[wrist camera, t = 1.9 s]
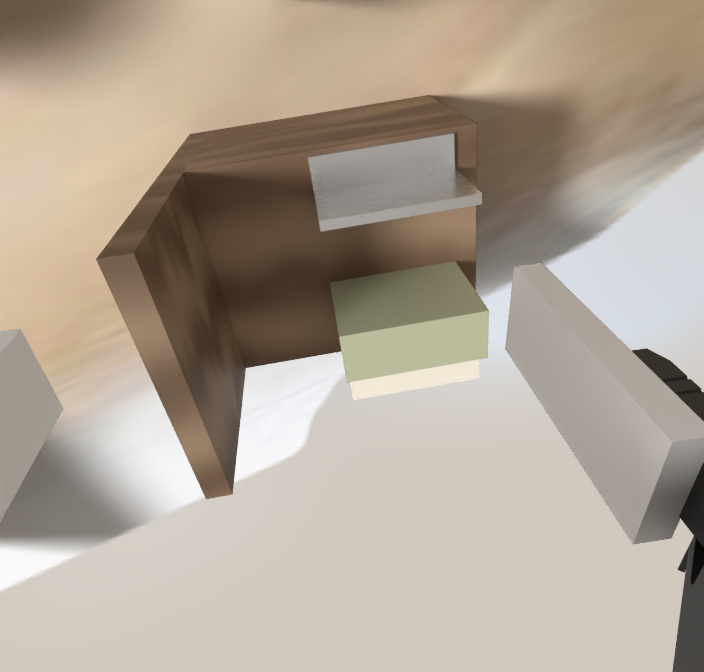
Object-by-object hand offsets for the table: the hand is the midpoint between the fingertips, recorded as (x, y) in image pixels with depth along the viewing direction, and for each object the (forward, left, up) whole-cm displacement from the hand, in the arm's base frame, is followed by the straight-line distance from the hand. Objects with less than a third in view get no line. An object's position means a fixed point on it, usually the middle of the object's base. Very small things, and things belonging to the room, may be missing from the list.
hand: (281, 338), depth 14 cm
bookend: (+1, +6, -20) cm, 21 cm away
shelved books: (+12, +6, -20) cm, 24 cm away
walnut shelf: (+7, +3, -32) cm, 33 cm away
